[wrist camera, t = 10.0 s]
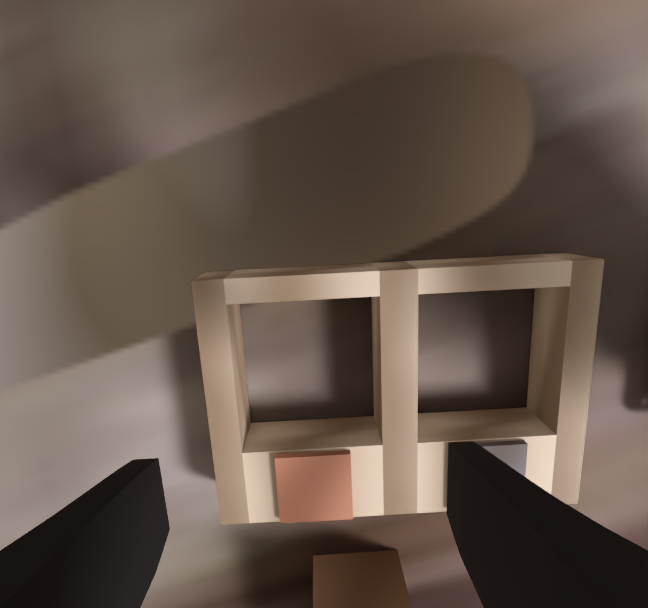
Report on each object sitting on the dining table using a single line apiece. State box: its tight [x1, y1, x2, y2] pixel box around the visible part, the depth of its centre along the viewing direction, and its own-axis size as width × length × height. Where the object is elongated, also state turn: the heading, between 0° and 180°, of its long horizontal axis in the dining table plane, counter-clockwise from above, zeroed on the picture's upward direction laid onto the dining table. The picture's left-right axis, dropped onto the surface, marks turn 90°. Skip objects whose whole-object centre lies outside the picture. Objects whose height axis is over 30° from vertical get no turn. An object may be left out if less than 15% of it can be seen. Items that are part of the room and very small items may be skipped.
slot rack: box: [191, 253, 605, 525], centre depth 18 cm, size 16×11×3 cm
